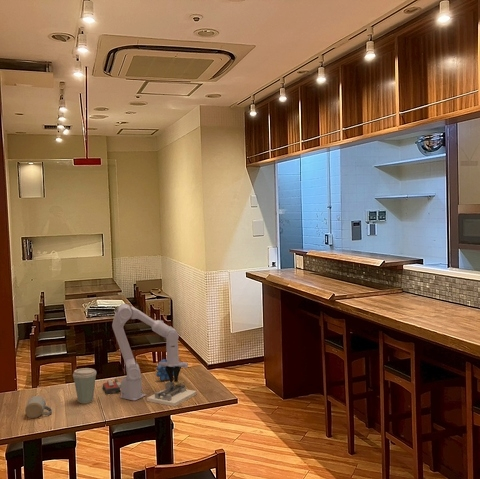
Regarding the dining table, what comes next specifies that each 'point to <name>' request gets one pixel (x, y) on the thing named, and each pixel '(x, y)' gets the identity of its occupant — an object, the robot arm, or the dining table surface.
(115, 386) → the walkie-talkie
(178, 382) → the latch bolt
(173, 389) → the strap
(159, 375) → the grapes
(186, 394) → the latch base plate
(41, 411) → the ceramic mug
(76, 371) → the disposable coffee cup
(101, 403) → the dining table surface
